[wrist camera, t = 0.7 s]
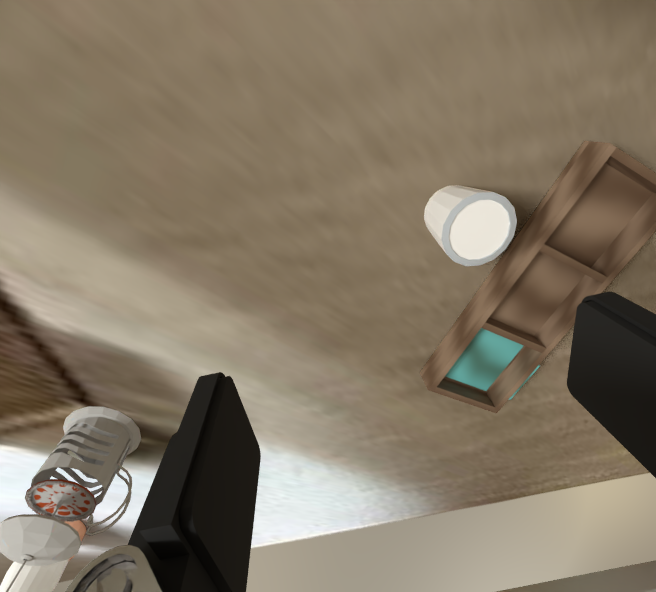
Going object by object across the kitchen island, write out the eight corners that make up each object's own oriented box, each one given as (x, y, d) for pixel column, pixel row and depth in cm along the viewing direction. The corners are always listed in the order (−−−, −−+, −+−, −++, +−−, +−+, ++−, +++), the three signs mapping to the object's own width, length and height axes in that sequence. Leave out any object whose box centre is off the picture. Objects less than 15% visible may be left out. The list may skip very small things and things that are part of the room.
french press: (62, 400, 45) (-163, 674, 23) (158, 415, 48) (36, 678, 25) (63, 453, 49) (-128, 729, 27) (151, 464, 52) (41, 727, 30)
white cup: (465, 164, 36) (500, 174, 30) (491, 218, 39) (528, 238, 33) (406, 205, 37) (428, 223, 31) (436, 254, 40) (461, 280, 34)
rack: (584, 141, 36) (610, 143, 33) (660, 189, 39) (691, 196, 36) (419, 372, 48) (427, 389, 45) (487, 396, 51) (499, 414, 48)
